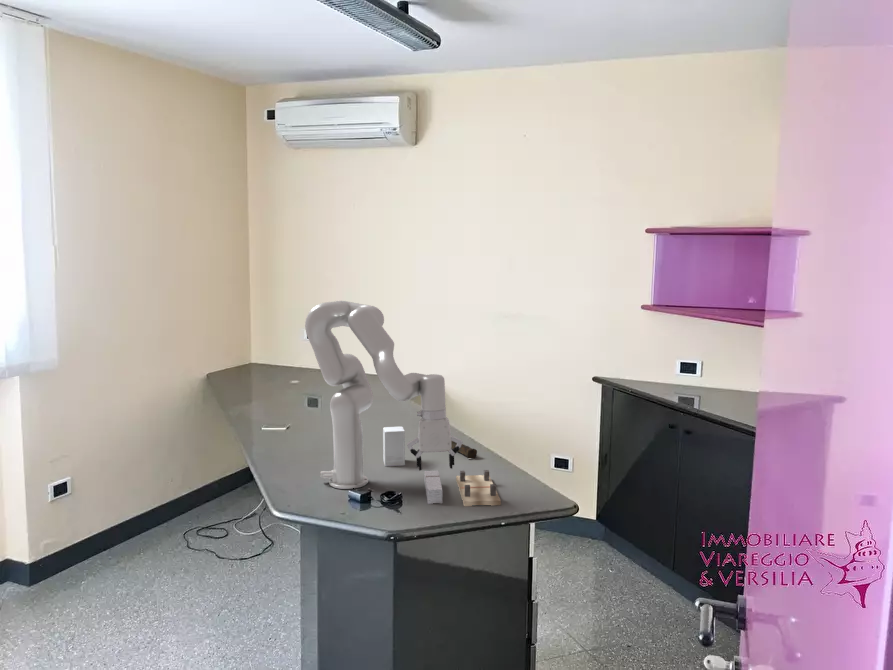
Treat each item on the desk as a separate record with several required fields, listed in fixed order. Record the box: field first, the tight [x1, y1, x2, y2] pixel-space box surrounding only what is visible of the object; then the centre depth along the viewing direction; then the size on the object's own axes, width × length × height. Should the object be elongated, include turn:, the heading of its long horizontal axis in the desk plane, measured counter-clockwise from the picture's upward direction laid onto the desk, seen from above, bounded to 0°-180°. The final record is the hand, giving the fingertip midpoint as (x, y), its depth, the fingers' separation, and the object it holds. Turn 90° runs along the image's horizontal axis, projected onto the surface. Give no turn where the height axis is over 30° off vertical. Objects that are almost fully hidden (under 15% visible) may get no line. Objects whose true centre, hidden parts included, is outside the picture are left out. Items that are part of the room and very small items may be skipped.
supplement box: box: [382, 426, 406, 467], centre depth 243 cm, size 7×7×13 cm
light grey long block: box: [424, 470, 443, 505], centre depth 212 cm, size 4×18×4 cm, turn 5°
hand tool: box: [451, 441, 478, 459], centre depth 257 cm, size 19×4×5 cm, turn 26°
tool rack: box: [455, 469, 502, 507], centre depth 213 cm, size 11×24×4 cm, turn 5°
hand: (435, 468), depth 211 cm, fingers open, 9 cm apart
